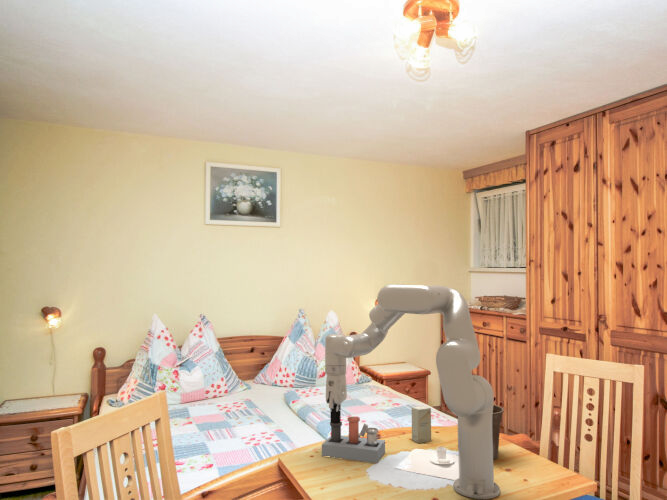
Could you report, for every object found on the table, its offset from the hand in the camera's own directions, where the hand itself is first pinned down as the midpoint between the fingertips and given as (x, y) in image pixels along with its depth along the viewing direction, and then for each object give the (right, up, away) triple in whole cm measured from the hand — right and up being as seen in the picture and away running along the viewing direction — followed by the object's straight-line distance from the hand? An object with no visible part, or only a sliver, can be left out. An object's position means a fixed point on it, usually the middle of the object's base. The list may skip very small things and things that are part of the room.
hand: (335, 422), depth 162 cm
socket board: (+6, -10, -3) cm, 12 cm away
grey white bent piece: (+8, -11, +4) cm, 14 cm away
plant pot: (+50, -10, -4) cm, 51 cm away
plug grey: (+12, -9, -5) cm, 16 cm away
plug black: (0, -8, -1) cm, 8 cm away
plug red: (+6, -6, -3) cm, 9 cm away
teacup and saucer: (+32, -9, -12) cm, 36 cm away
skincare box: (+32, -11, +11) cm, 36 cm away
